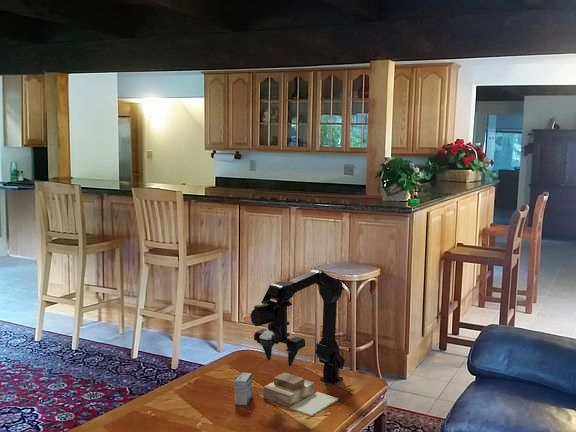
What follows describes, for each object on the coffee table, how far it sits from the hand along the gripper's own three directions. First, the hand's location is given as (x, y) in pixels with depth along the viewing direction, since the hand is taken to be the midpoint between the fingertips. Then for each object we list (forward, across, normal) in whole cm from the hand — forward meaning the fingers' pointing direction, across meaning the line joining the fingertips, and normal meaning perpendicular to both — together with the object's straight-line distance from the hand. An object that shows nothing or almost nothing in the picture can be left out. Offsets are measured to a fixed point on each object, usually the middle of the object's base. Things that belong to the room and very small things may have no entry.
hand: (279, 362), depth 210 cm
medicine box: (+13, -9, -9) cm, 18 cm away
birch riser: (+13, +1, +4) cm, 14 cm away
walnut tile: (+9, +1, +4) cm, 10 cm away
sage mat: (+13, +12, +4) cm, 19 cm away
